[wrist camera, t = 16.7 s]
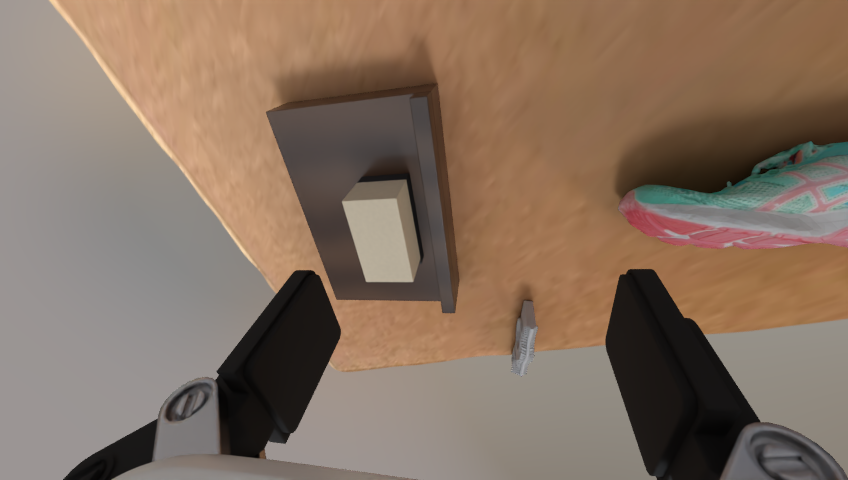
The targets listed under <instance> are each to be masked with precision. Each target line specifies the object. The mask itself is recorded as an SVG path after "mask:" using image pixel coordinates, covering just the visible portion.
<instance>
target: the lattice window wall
mask: <svg viewBox="0 0 848 480" xmlns="http://www.w3.org/2000/svg"><path fill="white" fill-rule="evenodd" d="M537 329H538V326H536V322H535V314H534V307H533V301H524V302H523V307H522V312H521V317H520V318H518V320H517V326H516V342H515V346H514V348H513V353H512V368H513V369H511V370H513V371H511V372H513V373H515V374H517V375H520V376H523V374H527V373H526V372H527V366H528V365H529V363H530V362H532V361H533V358H534V350H535V349H534V344H535V343H534V341H535V340H534V339H535V336H536V335H535V334H536V333H537Z"/></svg>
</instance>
